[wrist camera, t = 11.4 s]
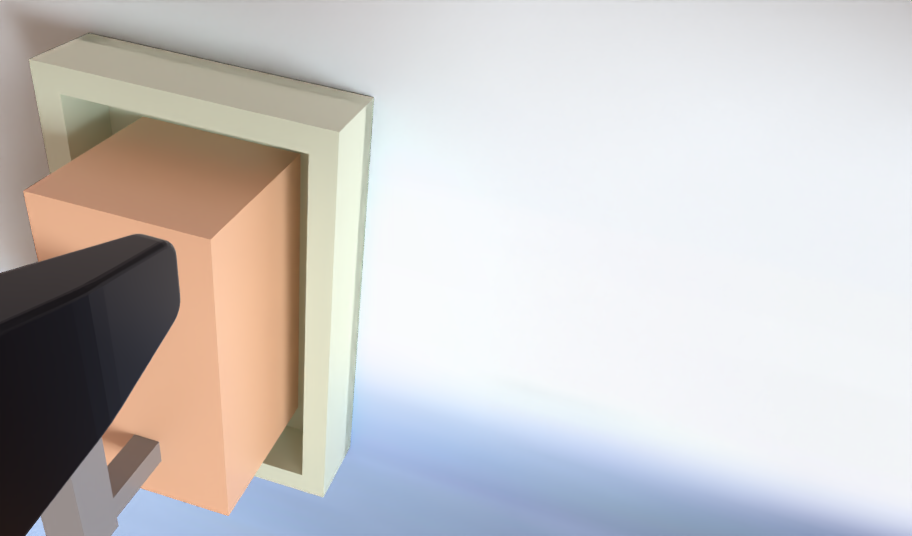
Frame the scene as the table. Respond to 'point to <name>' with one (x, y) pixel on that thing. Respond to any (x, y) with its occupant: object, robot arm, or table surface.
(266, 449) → the tall peach cuboid
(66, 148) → the tray
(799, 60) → the table surface
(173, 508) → the table surface
